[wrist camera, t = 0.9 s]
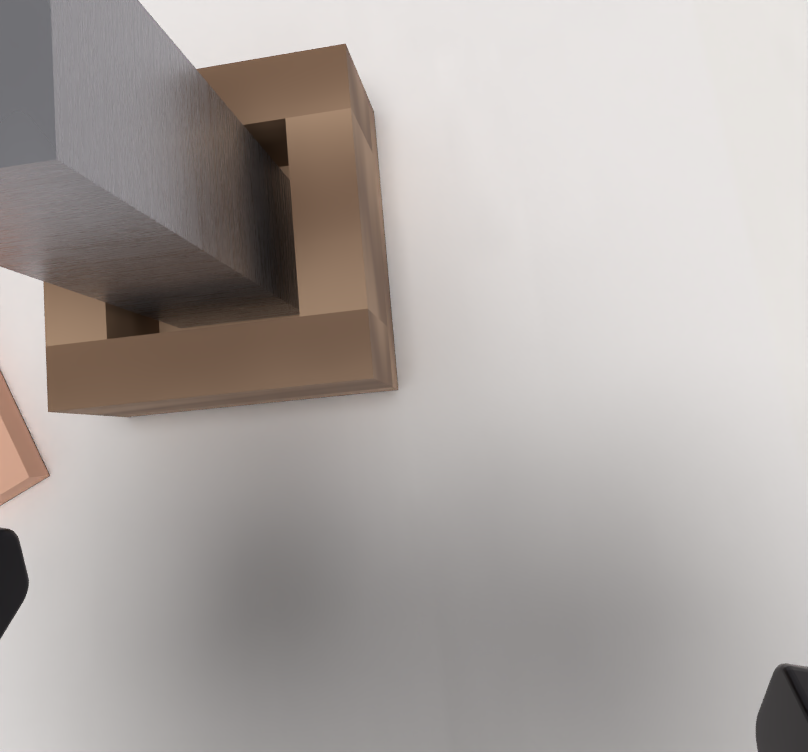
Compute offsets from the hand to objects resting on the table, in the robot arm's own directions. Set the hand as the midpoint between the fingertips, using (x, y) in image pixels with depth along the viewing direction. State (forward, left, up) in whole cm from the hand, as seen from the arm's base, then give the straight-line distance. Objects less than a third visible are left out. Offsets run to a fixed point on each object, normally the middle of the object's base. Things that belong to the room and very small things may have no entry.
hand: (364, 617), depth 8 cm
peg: (+2, +10, -12) cm, 16 cm away
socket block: (+2, +10, -13) cm, 17 cm away
